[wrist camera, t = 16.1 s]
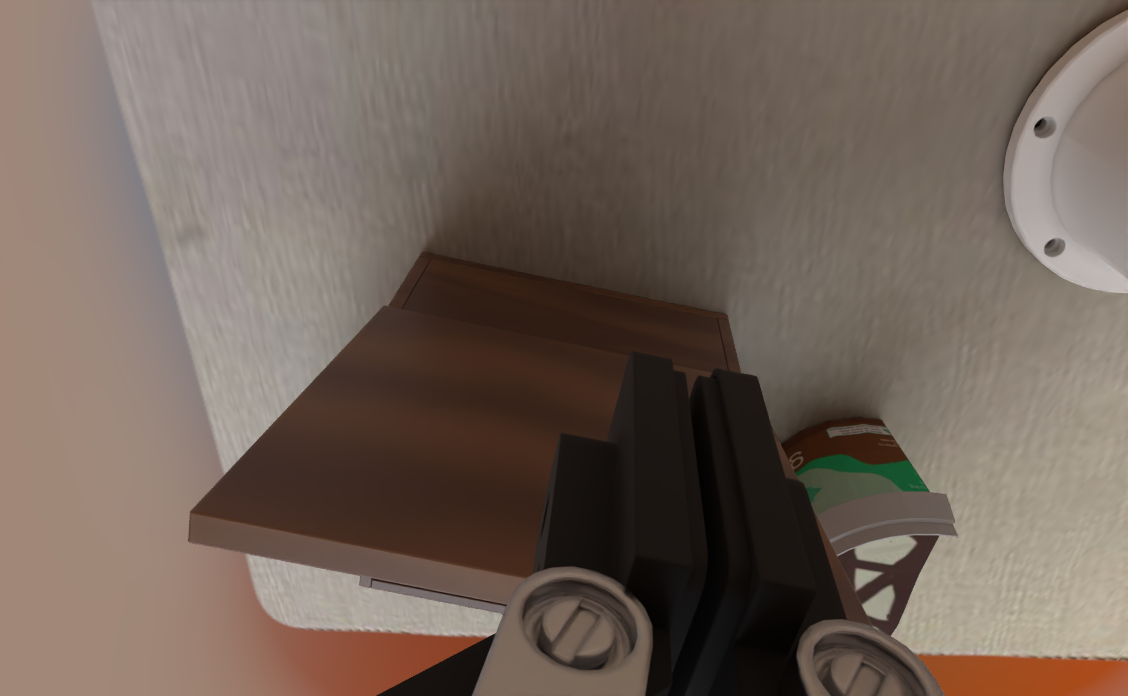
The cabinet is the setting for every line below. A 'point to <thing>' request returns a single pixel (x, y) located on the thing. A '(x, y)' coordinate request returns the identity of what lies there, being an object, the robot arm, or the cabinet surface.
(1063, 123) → the robot arm
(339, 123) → the cabinet surface
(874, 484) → the food container
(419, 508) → the chest lid
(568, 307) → the chest
